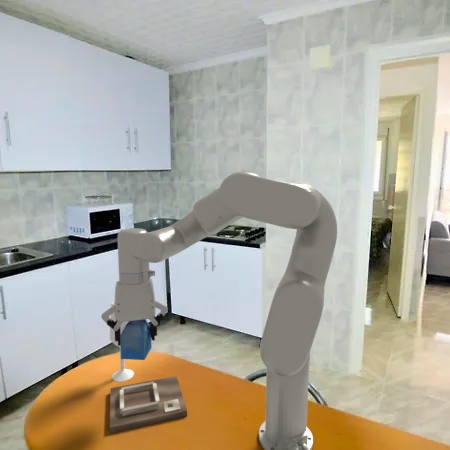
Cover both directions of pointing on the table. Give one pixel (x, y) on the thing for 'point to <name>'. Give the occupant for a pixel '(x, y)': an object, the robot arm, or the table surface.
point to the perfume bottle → (135, 340)
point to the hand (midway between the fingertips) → (136, 340)
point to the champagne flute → (122, 373)
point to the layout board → (145, 403)
